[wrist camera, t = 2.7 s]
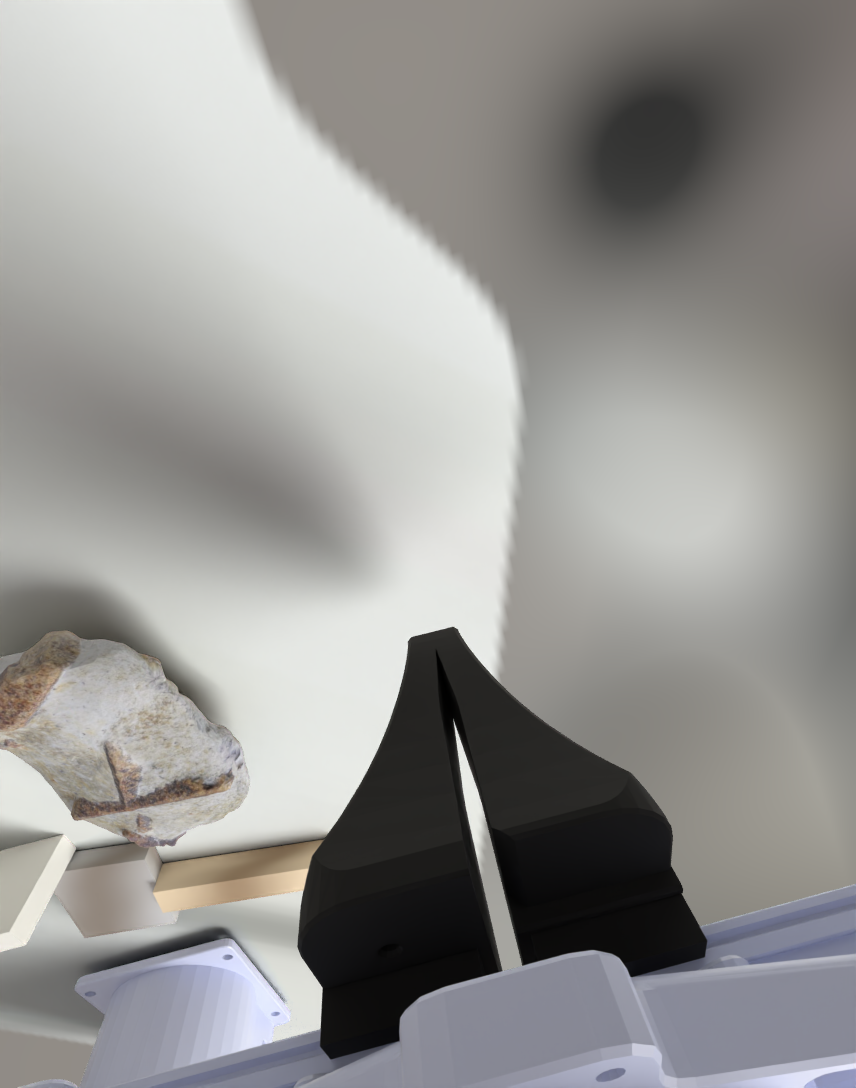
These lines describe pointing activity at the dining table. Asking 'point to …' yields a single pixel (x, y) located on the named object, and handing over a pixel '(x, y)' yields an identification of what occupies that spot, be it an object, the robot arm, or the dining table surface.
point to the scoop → (171, 883)
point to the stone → (118, 739)
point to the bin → (29, 885)
